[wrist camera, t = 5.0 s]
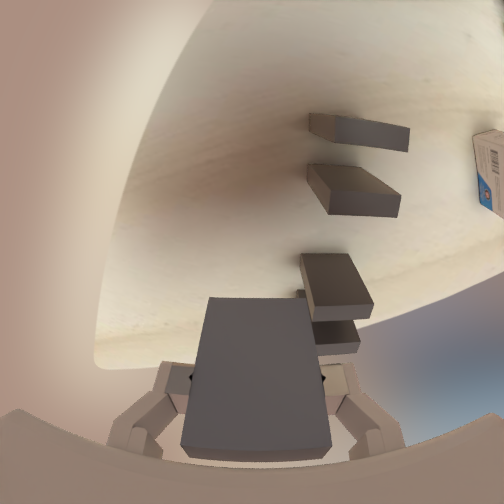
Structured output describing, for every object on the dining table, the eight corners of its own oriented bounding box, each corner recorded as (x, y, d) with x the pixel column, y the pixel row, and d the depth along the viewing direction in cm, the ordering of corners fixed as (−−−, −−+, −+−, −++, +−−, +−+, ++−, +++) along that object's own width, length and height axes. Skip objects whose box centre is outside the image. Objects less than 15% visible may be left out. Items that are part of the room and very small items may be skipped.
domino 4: (301, 253, 27) (314, 306, 20) (348, 253, 27) (374, 303, 20) (299, 267, 28) (312, 321, 21) (345, 266, 28) (369, 318, 21)
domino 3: (307, 163, 23) (330, 190, 16) (360, 167, 23) (401, 195, 16) (306, 181, 23) (328, 214, 16) (359, 184, 23) (397, 217, 16)
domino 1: (209, 297, 14) (180, 444, 7) (305, 298, 14) (332, 445, 7) (212, 319, 15) (189, 457, 8) (302, 320, 15) (322, 458, 8)
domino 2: (309, 113, 20) (335, 115, 13) (364, 119, 20) (410, 128, 13) (309, 131, 21) (334, 142, 14) (363, 136, 21) (407, 152, 14)
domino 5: (297, 289, 29) (307, 345, 22) (341, 288, 29) (360, 341, 22) (295, 301, 30) (304, 356, 23) (338, 299, 30) (356, 352, 23)
